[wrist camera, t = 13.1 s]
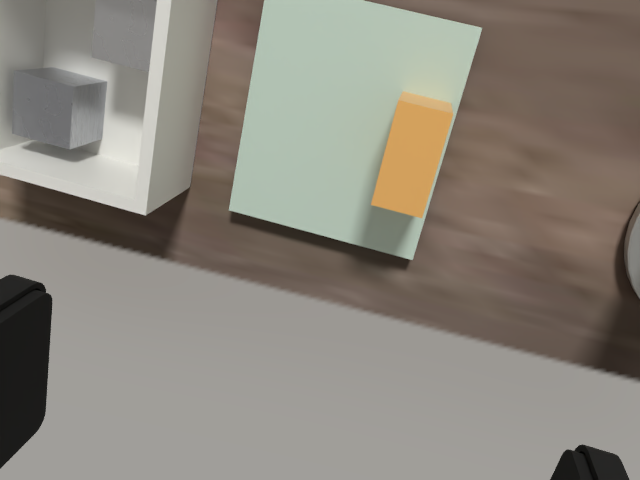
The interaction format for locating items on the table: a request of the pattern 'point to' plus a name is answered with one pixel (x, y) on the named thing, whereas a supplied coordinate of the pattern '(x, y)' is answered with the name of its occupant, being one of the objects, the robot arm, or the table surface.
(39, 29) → the tub
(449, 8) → the table surface
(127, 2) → the part
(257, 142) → the lid
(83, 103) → the part
